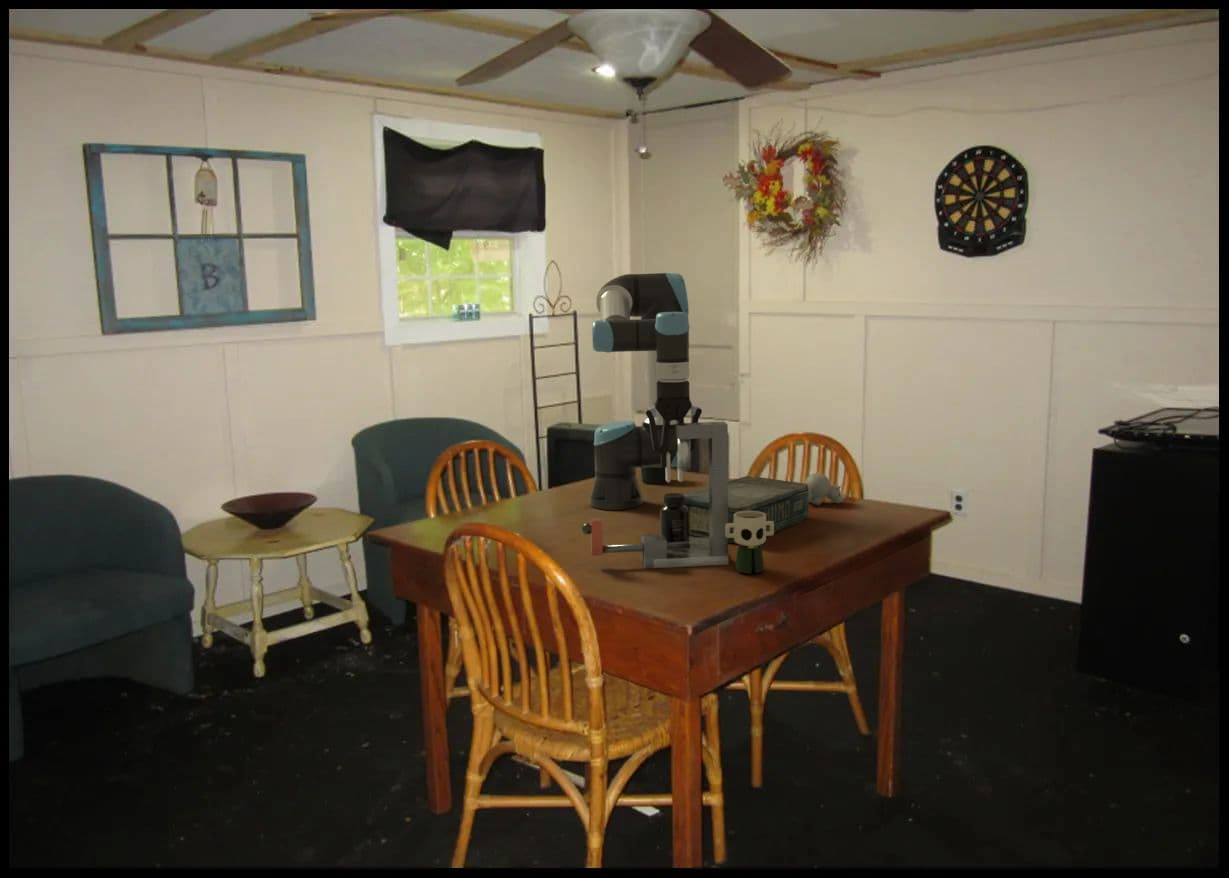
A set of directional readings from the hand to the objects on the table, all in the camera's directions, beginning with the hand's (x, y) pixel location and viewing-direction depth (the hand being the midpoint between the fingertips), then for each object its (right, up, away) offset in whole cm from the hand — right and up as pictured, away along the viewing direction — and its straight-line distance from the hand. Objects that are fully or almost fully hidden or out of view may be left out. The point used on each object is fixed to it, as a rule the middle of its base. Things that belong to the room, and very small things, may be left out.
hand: (674, 480), depth 232 cm
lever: (-9, -16, -6) cm, 19 cm away
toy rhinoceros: (+45, -9, +47) cm, 66 cm away
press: (+3, -18, 0) cm, 18 cm away
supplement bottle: (0, -15, +3) cm, 16 cm away
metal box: (+20, -13, +26) cm, 35 cm away
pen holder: (-1, -4, +80) cm, 80 cm away
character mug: (+16, -20, -12) cm, 28 cm away
